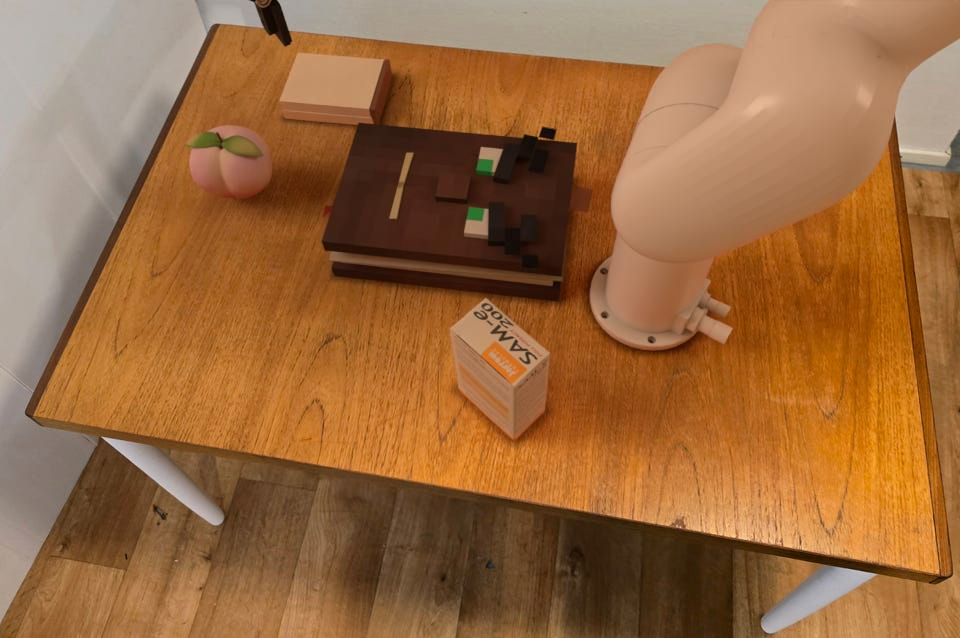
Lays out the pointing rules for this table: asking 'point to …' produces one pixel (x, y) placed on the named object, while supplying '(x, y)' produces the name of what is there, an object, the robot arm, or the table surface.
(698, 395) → the table surface
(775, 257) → the table surface
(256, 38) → the table surface
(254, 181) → the decorative fruit
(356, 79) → the thin cream books
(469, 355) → the supplement box
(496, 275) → the decorative book
